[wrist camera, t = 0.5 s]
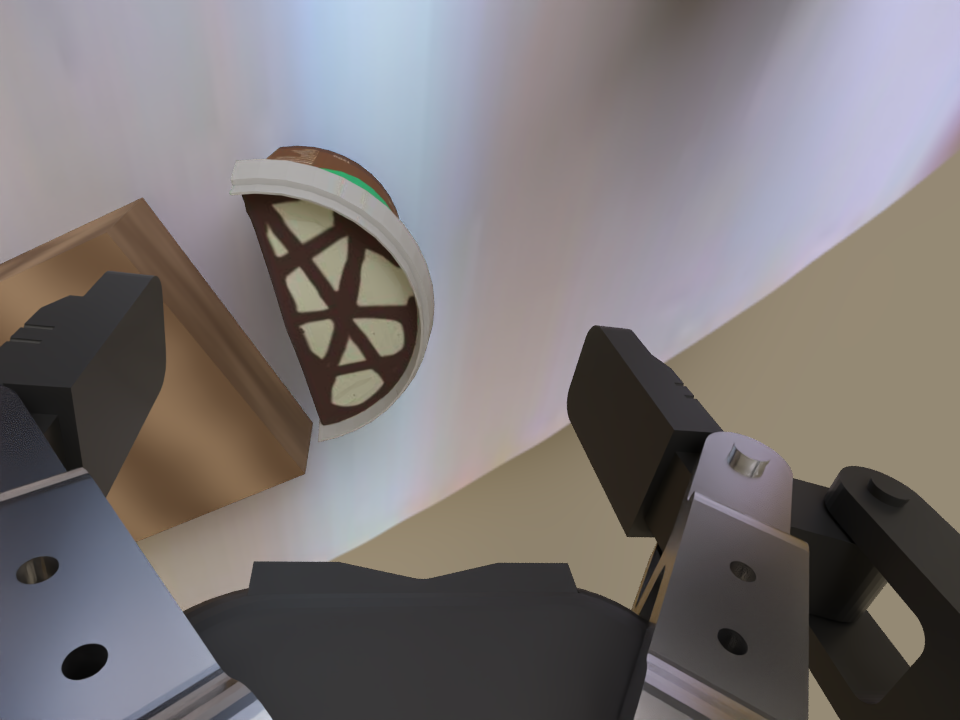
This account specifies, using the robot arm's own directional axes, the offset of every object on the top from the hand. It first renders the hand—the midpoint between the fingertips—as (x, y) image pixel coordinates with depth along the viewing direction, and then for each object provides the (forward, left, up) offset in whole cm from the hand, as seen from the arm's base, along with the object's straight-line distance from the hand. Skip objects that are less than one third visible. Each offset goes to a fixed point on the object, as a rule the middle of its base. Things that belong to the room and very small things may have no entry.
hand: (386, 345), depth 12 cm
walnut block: (+20, +7, -21) cm, 30 cm away
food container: (+4, +5, -21) cm, 22 cm away
